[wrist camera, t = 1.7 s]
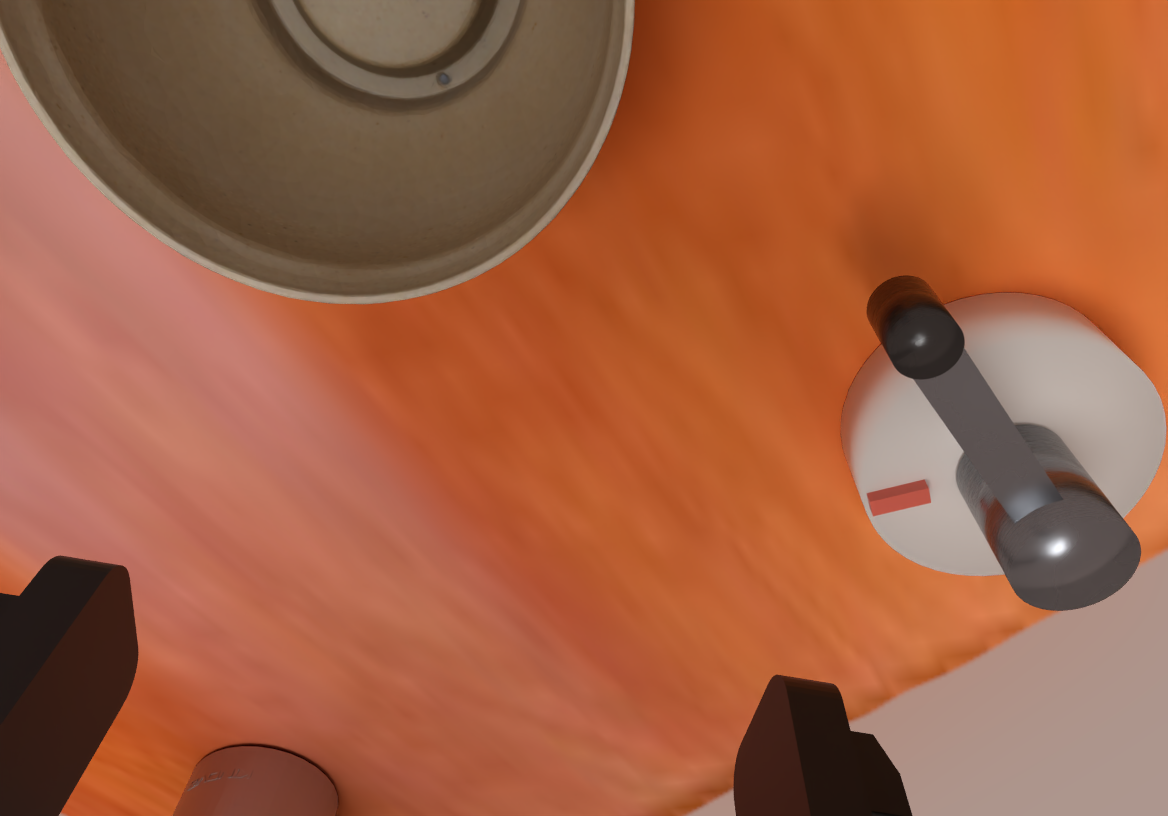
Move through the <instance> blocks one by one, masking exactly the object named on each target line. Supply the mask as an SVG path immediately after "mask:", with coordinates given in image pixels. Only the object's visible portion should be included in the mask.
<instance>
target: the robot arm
mask: <svg viewBox="0 0 1168 816" xmlns="http://www.w3.org/2000/svg"><path fill="white" fill-rule="evenodd" d="M137 663H138V642H137V634H136V626H135V618H134V609H133V601H132V593H131V585H130V577H129V573H128V570H127V569H126V568H125V567H124V566H121V565H115V564H109V563H103V562H97V561H90V560H84V559H78V558H72V557H66V556H56V557H54V558H52V559H50V560H49V561H48V562H47V563H46V564H45V565H44V566H43V567H42V568H41V570H40V571H39V572H38V573H37V575H36V576H35V577H34V578H33V579H32V581H31V582H30V583H29V584H28V586H27V587H26V588H25V589H24V591H23V592H22V593H21V594H20V596H16V595H9V594H3V593H0V816H59V814H60V812H61V811H62V809H63V807H64V805H65V804H66V802H67V800H68V799H69V797H70V795H71V793H72V792H73V790H74V788H75V786H76V785H77V783H78V781H79V780H80V778H81V776H82V774H83V773H84V771H85V769H86V768H87V766H88V764H89V762H90V761H91V759H92V757H93V756H94V754H95V752H96V750H97V749H98V747H99V745H100V743H101V742H102V740H103V738H104V737H105V735H106V733H107V731H108V730H109V728H110V726H111V725H112V723H113V721H114V719H115V718H116V716H117V714H118V713H119V711H120V709H121V707H122V706H123V704H124V702H125V700H126V698H127V696H128V694H129V691H130V689H131V686H132V683H133V680H134V677H135V673H136V668H137ZM734 801H735V810H736V816H912V813H911V810H910V806H909V803H908V800H907V796H906V793H905V789H904V786H903V782H902V779H901V776H900V773H899V772H898V770H897V769H896V768H895V766H894V765H893V763H892V762H891V760H890V759H889V757H888V756H887V754H886V753H885V751H884V750H883V749H882V747H881V746H880V744H879V743H878V741H877V740H876V738H875V737H874V735H872V734H866V733H860V732H854V731H850V727H849V723H848V719H847V715H846V711H845V707H844V703H843V699H842V696H841V693H840V691H839V689H838V688H837V686H835V685H834V684H831V683H825V682H819V681H813V680H807V679H801V678H794V677H788V676H782V675H775V676H773V677H772V679H771V680H770V682H769V684H768V686H767V688H766V690H765V692H764V694H763V697H762V699H761V701H760V703H759V705H758V708H757V710H756V712H755V714H754V716H753V719H752V721H751V723H750V725H749V727H748V730H747V732H746V734H745V736H744V738H743V740H742V743H741V745H740V748H739V751H738V754H737V758H736V764H735V771H734ZM337 808H338V795H337V792H336V790H335V787H334V785H333V784H332V783H331V781H330V780H329V779H328V777H327V776H326V775H325V774H324V773H322V772H321V771H320V770H319V769H318V768H317V767H315V766H314V765H312V764H310V763H309V762H307V761H305V760H304V759H301V758H299V757H297V756H295V755H292V754H290V753H287V752H283V751H279V750H276V749H271V748H264V747H257V746H240V747H232V748H226V749H223V750H220V751H216V752H214V753H212V754H210V755H208V756H207V757H205V758H203V759H202V760H201V761H200V762H199V763H198V764H197V765H196V767H195V769H194V771H193V773H192V775H191V777H190V779H189V782H188V784H187V786H186V788H185V790H184V792H183V794H182V796H181V799H180V801H179V803H178V805H177V807H176V809H175V811H174V814H173V816H336V811H337Z"/></svg>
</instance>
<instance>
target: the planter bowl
mask: <svg viewBox="0 0 1168 816" xmlns="http://www.w3.org/2000/svg"><path fill="white" fill-rule="evenodd" d="M634 12H635V0H0V48H1V50H2V53H3V55H4V57H5V59H6V61H7V64H8V66H9V68H10V70H11V72H12V74H13V76H14V78H15V80H16V81H17V83H18V85H19V87H20V89H21V90H22V92H23V94H24V95H25V97H26V99H27V100H28V102H29V104H30V105H31V107H32V108H33V110H34V112H35V113H36V115H37V116H38V118H39V119H40V120H41V122H42V123H43V125H44V126H45V128H46V129H47V130H48V132H49V133H50V134H51V136H52V137H53V138H54V140H55V141H56V142H57V144H58V145H59V146H60V147H61V149H62V150H63V151H64V153H65V154H66V155H67V156H68V158H69V159H70V160H71V161H72V163H73V164H74V165H75V166H76V167H77V168H78V169H79V170H80V171H81V172H82V173H83V174H84V176H85V177H86V178H87V179H88V180H89V181H90V182H91V183H92V184H93V185H94V186H95V187H96V188H97V189H98V190H99V191H100V192H101V193H102V194H103V195H104V196H105V197H106V198H108V199H109V200H110V201H111V202H112V203H113V204H114V205H115V206H117V207H118V208H119V209H120V210H121V211H122V212H124V213H125V214H126V215H127V216H128V217H129V218H131V219H132V220H133V221H134V222H136V223H137V224H138V225H140V226H141V227H142V228H144V229H145V230H146V231H148V232H149V233H150V234H152V235H153V236H155V237H156V238H157V239H159V240H160V241H161V242H163V243H164V244H166V245H168V246H169V247H171V248H172V249H174V250H175V251H177V252H178V253H180V254H182V255H183V256H185V257H187V258H189V259H190V260H192V261H194V262H196V263H198V264H200V265H201V266H203V267H205V268H207V269H209V270H211V271H214V272H216V273H218V274H220V275H222V276H225V277H227V278H230V279H232V280H234V281H237V282H240V283H242V284H245V285H248V286H251V287H253V288H256V289H259V290H262V291H266V292H270V293H273V294H277V295H281V296H285V297H289V298H295V299H301V300H307V301H314V302H322V303H334V304H373V303H385V302H392V301H399V300H406V299H410V298H415V297H420V296H424V295H428V294H432V293H435V292H439V291H442V290H445V289H447V288H450V287H453V286H455V285H458V284H461V283H463V282H465V281H468V280H470V279H472V278H474V277H476V276H478V275H480V274H482V273H484V272H486V271H488V270H490V269H492V268H493V267H495V266H497V265H499V264H500V263H502V262H503V261H504V260H506V259H507V258H509V257H510V256H512V255H513V254H515V253H516V252H517V251H519V250H520V249H521V248H522V247H524V246H525V245H526V244H527V243H529V242H530V241H531V240H532V239H533V238H534V237H535V236H537V235H538V234H539V233H540V232H541V231H542V230H543V229H544V228H545V227H546V226H547V225H548V224H549V223H550V222H551V221H552V220H553V219H554V218H555V217H556V215H557V214H558V213H559V212H560V211H561V209H562V208H563V207H564V206H565V205H566V203H567V202H568V201H569V199H570V198H571V197H572V195H573V194H574V193H575V191H576V190H577V189H578V188H579V186H580V185H581V183H582V181H583V180H584V178H585V177H586V175H587V173H588V172H589V170H590V169H591V167H592V165H593V163H594V161H595V159H596V157H597V155H598V153H599V152H600V150H601V147H602V145H603V143H604V141H605V139H606V137H607V135H608V132H609V130H610V127H611V125H612V122H613V119H614V117H615V114H616V111H617V108H618V105H619V102H620V99H621V95H622V92H623V88H624V83H625V79H626V75H627V71H628V66H629V60H630V55H631V48H632V39H633V29H634Z"/></svg>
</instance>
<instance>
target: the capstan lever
mask: <svg viewBox="0 0 1168 816" xmlns="http://www.w3.org/2000/svg"><path fill="white" fill-rule="evenodd" d="M867 317H868V320H869V322H870V324H871V326H872V328H873V329H874V331H875V333H876V335H877V337H878V338H879V340H880V342H881V344H882V346H883V347H884V349H885V351H886V353H887V355H888V356H889V358H890V360H891V362H892V364H893V365H894V367H895V368H896V370H897V371H898V372H899V373H901V374H902V375H904V376H906V377H908V378H912V379H913V380H914V381H915V382H916V384H917V385H918V387H919V388H920V390H921V391H922V392H923V394H924V395H925V397H926V398H927V400H928V401H929V402H930V404H931V405H932V407H933V408H934V410H935V411H936V412H937V414H938V415H939V417H940V418H941V420H942V421H943V422H944V424H945V425H946V427H947V428H948V430H949V431H950V432H951V434H952V435H953V437H954V438H955V439H956V441H957V442H958V444H959V445H960V447H961V448H962V449H963V451H964V452H965V454H964V456H963V457H962V459H961V461H960V463H959V466H958V469H957V475H956V480H957V486H958V489H959V491H960V493H961V495H962V497H963V499H964V500H965V502H966V504H967V506H968V508H969V510H970V511H971V513H972V515H973V517H974V519H975V520H976V522H977V524H978V526H979V528H980V530H981V531H982V533H983V535H984V537H985V539H986V541H987V542H988V544H989V546H990V548H991V550H992V551H993V553H994V555H995V557H996V559H997V561H998V562H999V564H1000V566H1001V568H1002V570H1003V572H1004V573H1005V575H1006V577H1007V579H1008V581H1009V582H1010V584H1011V586H1012V588H1013V590H1014V591H1015V593H1016V594H1017V595H1018V596H1019V598H1021V599H1022V600H1023V601H1024V602H1026V603H1028V604H1030V605H1032V606H1034V607H1037V608H1041V609H1046V610H1055V611H1063V610H1073V609H1078V608H1083V607H1086V606H1089V605H1092V604H1095V603H1097V602H1100V601H1102V600H1104V599H1106V598H1107V597H1109V596H1111V595H1112V594H1114V593H1115V592H1116V591H1118V590H1119V589H1120V588H1122V587H1123V586H1124V585H1125V584H1126V583H1127V582H1128V581H1129V579H1130V578H1131V577H1132V575H1133V574H1134V572H1135V571H1136V569H1137V567H1138V564H1139V561H1140V556H1141V547H1140V543H1139V540H1138V538H1137V536H1136V535H1135V533H1134V532H1133V531H1132V529H1131V528H1130V527H1129V526H1128V524H1127V523H1126V522H1125V520H1124V519H1123V518H1122V517H1121V515H1120V514H1119V513H1118V511H1117V510H1116V509H1115V507H1114V506H1113V505H1112V504H1111V502H1110V501H1109V500H1108V498H1107V497H1106V496H1105V495H1104V493H1103V492H1102V491H1101V489H1100V488H1099V487H1098V486H1097V484H1096V483H1095V482H1094V480H1093V479H1092V478H1091V477H1090V475H1089V474H1088V473H1087V471H1086V470H1085V469H1084V467H1083V466H1082V465H1081V464H1080V462H1079V461H1078V460H1077V458H1076V457H1075V456H1074V455H1073V453H1072V452H1071V451H1070V449H1069V448H1068V447H1067V446H1066V444H1065V443H1064V442H1063V440H1062V439H1061V438H1060V437H1059V436H1058V435H1057V434H1056V433H1054V432H1053V431H1051V430H1049V429H1047V428H1044V427H1041V426H1037V425H1029V424H1021V425H1014V423H1013V422H1012V420H1011V419H1010V417H1009V416H1008V414H1007V413H1006V411H1005V410H1004V408H1003V407H1002V405H1001V404H1000V402H999V400H998V399H997V397H996V396H995V394H994V393H993V391H992V390H991V388H990V387H989V385H988V384H987V382H986V381H985V379H984V378H983V376H982V374H981V373H980V371H979V370H978V368H977V367H976V365H975V364H974V362H973V361H972V359H971V358H970V356H969V355H968V353H967V352H966V350H965V349H964V345H965V339H964V334H963V331H962V330H961V328H960V327H959V325H958V324H957V322H956V321H955V320H954V318H953V317H952V316H951V314H950V313H949V312H948V310H947V309H946V308H945V306H944V305H943V304H942V302H941V301H940V300H939V298H938V297H937V296H936V294H935V293H934V292H933V290H932V289H931V287H930V286H929V285H928V284H927V283H926V282H925V281H923V280H922V279H920V278H917V277H914V276H898V277H894V278H891V279H889V280H887V281H885V282H884V283H882V284H881V285H880V286H878V287H877V288H876V289H875V291H874V292H873V293H872V295H871V296H870V298H869V301H868V304H867Z"/></svg>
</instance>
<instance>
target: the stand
mask: <svg viewBox="0 0 1168 816" xmlns="http://www.w3.org/2000/svg"><path fill="white" fill-rule="evenodd" d="M944 306H945V308H946V309H947V310H948V312H949V313H950V314H951V316H952V317H953V318H954V320H955V321H956V322H957V324H958V325H959V327H960V328H961V330H962V331H963V334H964V339H965V345H964V349H965V350H966V352H967V353H968V355H969V356H970V358H971V359H972V361H973V362H974V364H975V365H976V367H977V368H978V370H979V371H980V373H981V374H982V376H983V378H984V379H985V381H986V382H987V384H988V385H989V387H990V388H991V390H992V391H993V393H994V394H995V396H996V397H997V399H998V400H999V402H1000V404H1001V405H1002V407H1003V408H1004V410H1005V411H1006V413H1007V414H1008V416H1009V417H1010V419H1011V420H1012V422H1013V423H1014V425H1021V424H1029V425H1037V426H1041V427H1044V428H1047V429H1049V430H1051V431H1053V432H1054V433H1056V434H1057V435H1058V436H1059V437H1060V438H1061V439H1062V440H1063V442H1064V443H1065V444H1066V446H1067V447H1068V448H1069V449H1070V451H1071V452H1072V453H1073V455H1074V456H1075V457H1076V458H1077V460H1078V461H1079V462H1080V464H1081V465H1082V466H1083V467H1084V469H1085V470H1086V471H1087V473H1088V474H1089V475H1090V477H1091V478H1092V479H1093V480H1094V482H1095V483H1096V484H1097V486H1098V487H1099V488H1100V489H1101V491H1102V492H1103V493H1104V495H1105V496H1106V497H1107V498H1108V500H1109V501H1110V502H1111V504H1112V505H1113V506H1114V507H1115V509H1116V510H1117V511H1118V513H1119V514H1120V515H1121V517H1122V518H1124V517H1125V516H1126V515H1127V514H1128V513H1129V512H1130V511H1131V510H1132V508H1133V507H1134V506H1135V505H1136V504H1137V502H1138V501H1139V500H1140V499H1141V497H1142V496H1143V495H1144V493H1145V492H1146V490H1147V489H1148V487H1149V485H1150V484H1151V482H1152V480H1153V478H1154V477H1155V474H1156V472H1157V470H1158V467H1159V465H1160V462H1161V459H1162V455H1163V451H1164V447H1165V440H1166V419H1165V412H1164V408H1163V405H1162V401H1161V398H1160V396H1159V394H1158V392H1157V390H1156V388H1155V386H1154V385H1153V383H1152V382H1151V381H1150V379H1149V378H1148V377H1147V376H1146V374H1145V373H1144V372H1143V371H1142V370H1141V369H1140V368H1139V367H1138V366H1137V365H1136V364H1135V363H1134V362H1133V361H1132V360H1131V359H1130V358H1129V357H1128V356H1127V355H1125V354H1124V353H1123V352H1122V351H1121V350H1120V349H1119V348H1118V347H1117V346H1116V345H1115V344H1114V343H1113V342H1112V341H1111V340H1110V339H1109V338H1108V337H1107V336H1106V335H1105V334H1104V333H1103V332H1102V331H1101V330H1100V329H1099V328H1097V327H1096V326H1095V325H1094V324H1093V323H1092V322H1091V321H1090V320H1089V319H1088V318H1086V317H1085V316H1084V315H1083V314H1081V313H1080V312H1078V311H1076V310H1075V309H1073V308H1072V307H1070V306H1068V305H1065V304H1063V303H1061V302H1059V301H1056V300H1053V299H1050V298H1046V297H1042V296H1039V295H1033V294H1025V293H991V294H981V295H976V296H972V297H967V298H963V299H959V300H956V301H953V302H950V303H947V304H944ZM841 441H842V448H843V451H844V455H845V458H846V461H847V463H848V466H849V469H850V471H851V474H852V476H853V479H854V482H855V484H856V487H857V489H858V492H859V494H860V497H861V500H862V502H863V505H864V507H865V510H866V512H867V515H868V517H869V519H870V521H871V523H872V525H873V527H874V528H875V530H876V531H877V532H878V533H879V535H880V536H881V537H882V539H883V540H884V541H885V542H886V543H887V544H889V545H890V546H891V547H892V548H893V549H894V550H895V551H897V552H898V553H900V554H901V555H903V556H904V557H906V558H907V559H909V560H911V561H913V562H915V563H917V564H919V565H922V566H925V567H928V568H931V569H933V570H937V571H942V572H946V573H950V574H958V575H967V576H990V575H1003V574H1005V573H1004V572H1003V570H1002V568H1001V566H1000V564H999V562H998V561H997V559H996V557H995V555H994V553H993V551H992V550H991V548H990V546H989V544H988V542H987V541H986V539H985V537H984V535H983V533H982V531H981V530H980V528H979V526H978V524H977V522H976V520H975V519H974V517H973V515H972V513H971V511H970V510H969V508H968V506H967V504H966V502H965V500H964V499H963V497H962V495H961V493H960V491H959V489H958V486H957V480H956V475H957V469H958V466H959V463H960V461H961V459H962V457H963V456H964V454H965V452H964V451H963V449H962V448H961V447H960V445H959V444H958V442H957V441H956V439H955V438H954V437H953V435H952V434H951V432H950V431H949V430H948V428H947V427H946V425H945V424H944V422H943V421H942V420H941V418H940V417H939V415H938V414H937V412H936V411H935V410H934V408H933V407H932V405H931V404H930V402H929V401H928V400H927V398H926V397H925V395H924V394H923V392H922V391H921V390H920V388H919V387H918V385H917V384H916V382H915V381H914V380H913V379H912V378H908V377H906V376H904V375H902V374H901V373H899V372H898V371H897V370H896V368H895V367H894V365H893V364H892V362H891V360H890V358H889V356H888V355H887V353H886V351H885V349H884V347H883V346H882V344H881V345H880V346H879V347H878V348H877V349H876V350H875V351H874V352H873V353H872V355H871V356H870V357H869V358H868V359H867V360H866V362H865V363H864V365H863V366H862V368H861V369H860V371H859V372H858V374H857V375H856V377H855V379H854V381H853V383H852V385H851V387H850V389H849V391H848V394H847V397H846V400H845V403H844V406H843V412H842V417H841Z"/></svg>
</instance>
